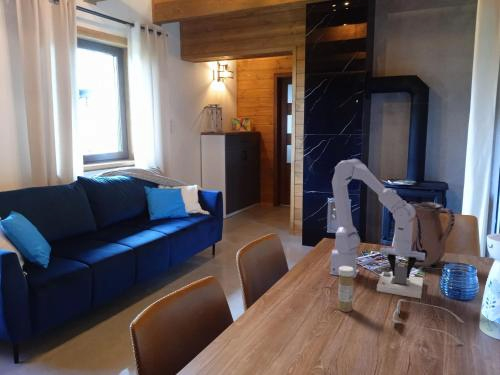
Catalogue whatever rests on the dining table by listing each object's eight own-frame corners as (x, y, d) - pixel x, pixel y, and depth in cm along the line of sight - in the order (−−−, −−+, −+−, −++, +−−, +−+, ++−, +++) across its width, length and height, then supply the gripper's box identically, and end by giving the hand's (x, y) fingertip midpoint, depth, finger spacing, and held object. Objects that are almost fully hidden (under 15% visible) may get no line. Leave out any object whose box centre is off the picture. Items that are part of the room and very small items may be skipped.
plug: (394, 282, 138) (394, 264, 136) (395, 278, 141) (396, 261, 140) (406, 284, 136) (407, 266, 135) (407, 280, 139) (408, 262, 138)
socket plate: (376, 291, 136) (377, 283, 135) (382, 276, 148) (382, 270, 148) (420, 298, 130) (421, 291, 129) (422, 283, 142) (423, 276, 142)
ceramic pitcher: (409, 253, 175) (413, 198, 171) (460, 265, 160) (465, 205, 156) (390, 262, 164) (393, 203, 160) (442, 276, 148) (447, 211, 144)
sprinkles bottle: (346, 304, 126) (347, 264, 124) (355, 310, 122) (357, 269, 120) (334, 307, 124) (335, 266, 122) (343, 313, 120) (345, 271, 118)
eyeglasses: (399, 309, 124) (399, 297, 123) (464, 322, 115) (465, 309, 114) (391, 331, 110) (391, 318, 110) (464, 348, 102) (465, 334, 101)
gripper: (379, 239, 136) (377, 277, 138) (425, 244, 130) (422, 283, 132) (382, 234, 142) (380, 270, 144) (426, 239, 136) (423, 276, 138)
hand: (400, 276), depth 138 cm, fingers closed on plug, 4 cm apart
